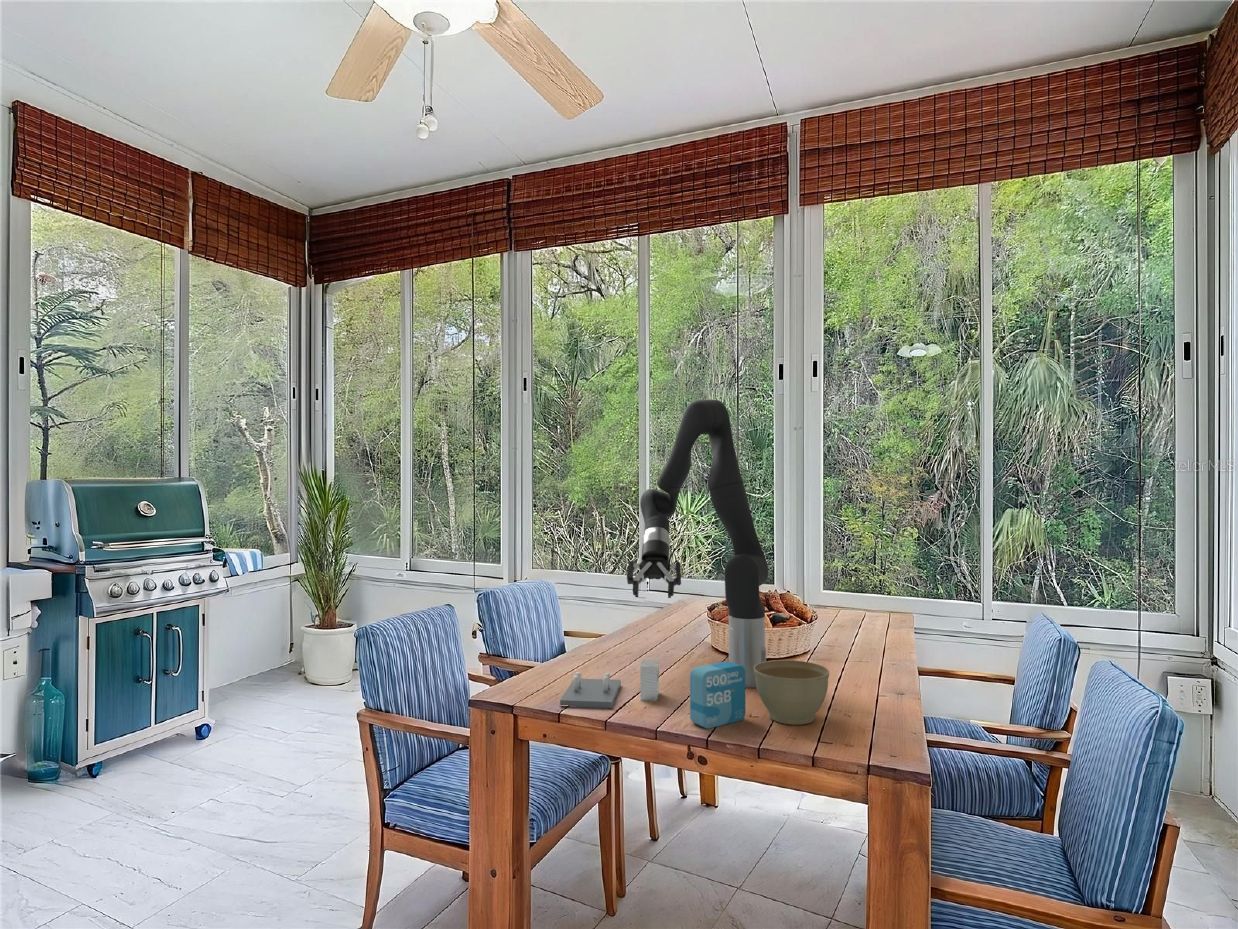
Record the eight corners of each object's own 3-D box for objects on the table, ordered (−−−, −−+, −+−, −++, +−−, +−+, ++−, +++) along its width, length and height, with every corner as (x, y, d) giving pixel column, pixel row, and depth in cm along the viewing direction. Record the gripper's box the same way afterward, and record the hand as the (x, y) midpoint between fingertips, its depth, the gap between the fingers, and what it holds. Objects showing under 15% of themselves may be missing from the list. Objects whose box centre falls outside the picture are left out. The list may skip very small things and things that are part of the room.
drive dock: (620, 685, 179) (620, 666, 179) (611, 708, 161) (611, 686, 161) (574, 684, 180) (574, 664, 180) (560, 706, 162) (560, 684, 162)
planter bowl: (827, 709, 160) (826, 661, 160) (832, 734, 144) (831, 681, 145) (755, 704, 164) (755, 657, 164) (752, 728, 148) (752, 676, 148)
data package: (703, 730, 147) (702, 672, 147) (689, 724, 151) (689, 667, 151) (746, 719, 153) (745, 664, 154) (732, 714, 157) (731, 660, 157)
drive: (659, 693, 173) (659, 660, 173) (657, 700, 167) (657, 666, 167) (642, 692, 173) (642, 660, 173) (640, 700, 167) (640, 666, 167)
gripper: (629, 538, 192) (624, 586, 180) (681, 538, 190) (680, 587, 178) (631, 555, 197) (626, 604, 185) (682, 556, 195) (680, 605, 184)
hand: (652, 596), depth 182 cm, fingers open, 8 cm apart
